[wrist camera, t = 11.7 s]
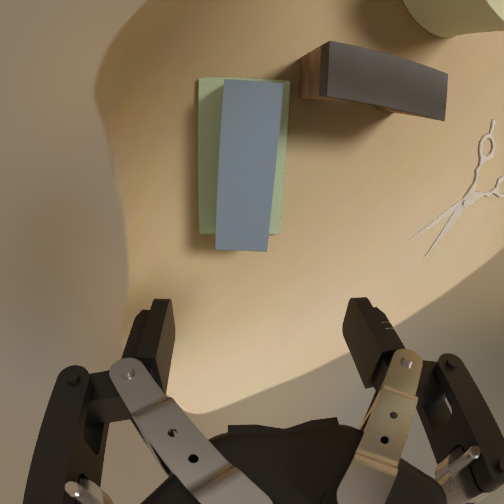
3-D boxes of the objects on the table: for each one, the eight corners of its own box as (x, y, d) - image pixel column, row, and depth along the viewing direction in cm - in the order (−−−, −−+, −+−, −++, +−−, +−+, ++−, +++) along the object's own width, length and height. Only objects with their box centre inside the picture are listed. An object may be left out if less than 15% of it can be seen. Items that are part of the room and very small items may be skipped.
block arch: (301, 57, 23) (329, 40, 16) (396, 75, 24) (447, 74, 17) (298, 97, 25) (326, 96, 18) (394, 112, 26) (444, 121, 19)
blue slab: (225, 83, 24) (224, 79, 20) (275, 86, 24) (283, 83, 20) (216, 229, 30) (215, 249, 26) (261, 231, 30) (266, 251, 27)
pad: (199, 78, 24) (198, 77, 23) (289, 81, 24) (290, 80, 24) (199, 231, 31) (199, 233, 30) (278, 232, 31) (279, 234, 31)
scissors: (517, 180, 30) (432, 276, 35) (514, 178, 30) (429, 273, 36) (494, 118, 26) (397, 223, 31) (490, 118, 26) (394, 220, 32)
